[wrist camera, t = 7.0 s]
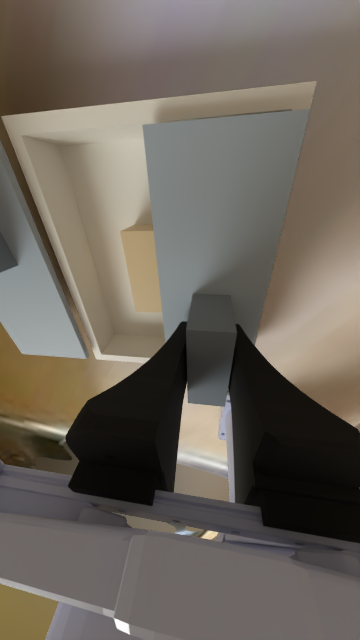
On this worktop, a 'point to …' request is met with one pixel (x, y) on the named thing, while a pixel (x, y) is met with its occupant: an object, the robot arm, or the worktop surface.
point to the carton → (116, 202)
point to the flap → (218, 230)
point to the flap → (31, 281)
